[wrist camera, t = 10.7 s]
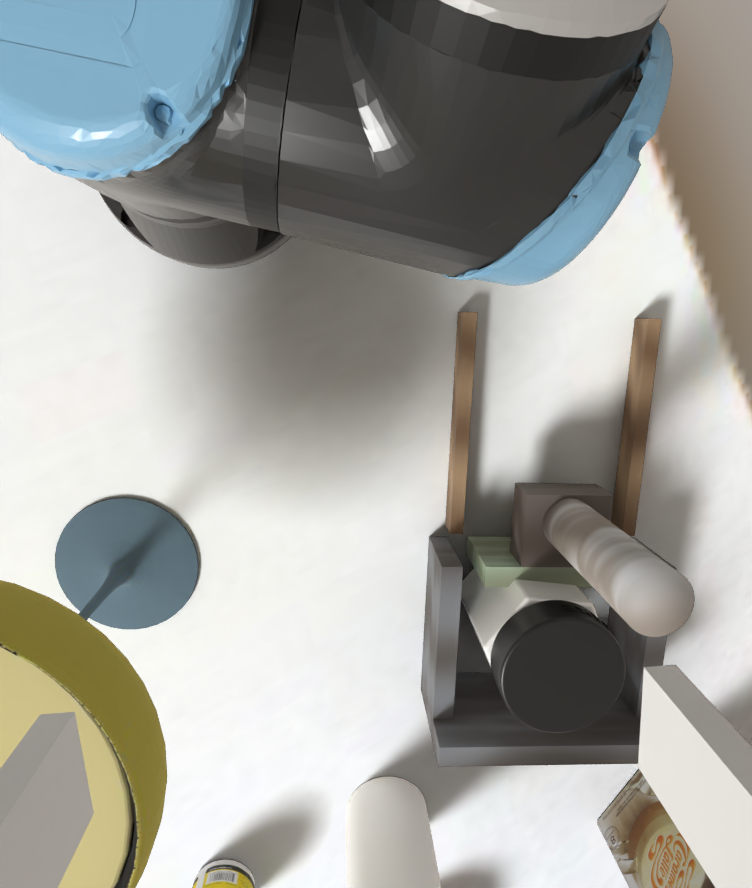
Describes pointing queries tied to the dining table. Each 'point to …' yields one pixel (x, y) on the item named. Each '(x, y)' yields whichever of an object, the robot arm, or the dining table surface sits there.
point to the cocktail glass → (100, 672)
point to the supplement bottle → (224, 875)
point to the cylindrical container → (389, 837)
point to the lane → (444, 691)
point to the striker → (583, 556)
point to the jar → (546, 651)
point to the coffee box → (649, 841)
